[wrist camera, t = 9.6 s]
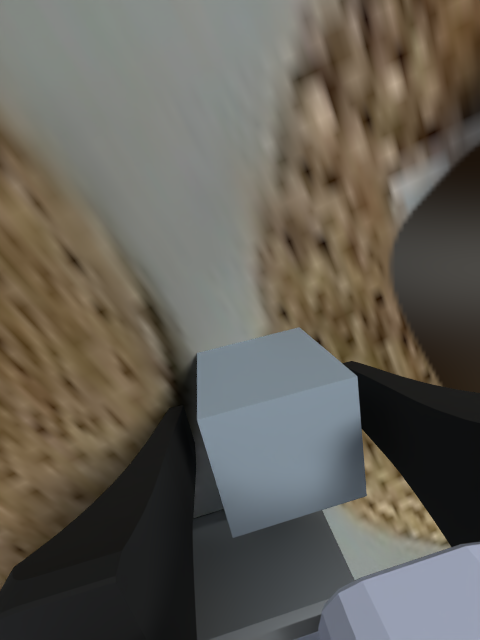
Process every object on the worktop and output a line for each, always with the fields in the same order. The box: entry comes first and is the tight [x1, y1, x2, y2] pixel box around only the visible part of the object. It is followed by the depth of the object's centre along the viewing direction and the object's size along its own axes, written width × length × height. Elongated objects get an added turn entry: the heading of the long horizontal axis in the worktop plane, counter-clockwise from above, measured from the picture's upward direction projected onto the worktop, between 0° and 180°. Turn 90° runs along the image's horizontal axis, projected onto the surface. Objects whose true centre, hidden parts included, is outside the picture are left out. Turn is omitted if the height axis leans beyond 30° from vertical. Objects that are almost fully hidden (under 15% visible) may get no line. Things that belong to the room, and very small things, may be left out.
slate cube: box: [197, 328, 367, 538], centre depth 11 cm, size 5×5×5 cm
